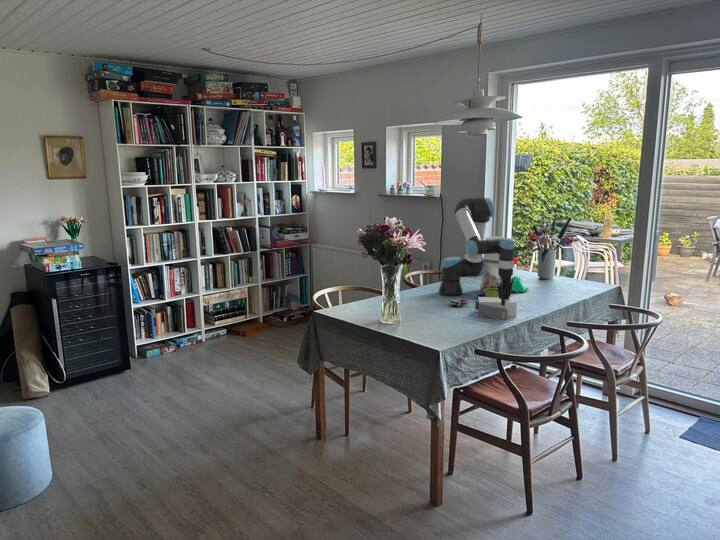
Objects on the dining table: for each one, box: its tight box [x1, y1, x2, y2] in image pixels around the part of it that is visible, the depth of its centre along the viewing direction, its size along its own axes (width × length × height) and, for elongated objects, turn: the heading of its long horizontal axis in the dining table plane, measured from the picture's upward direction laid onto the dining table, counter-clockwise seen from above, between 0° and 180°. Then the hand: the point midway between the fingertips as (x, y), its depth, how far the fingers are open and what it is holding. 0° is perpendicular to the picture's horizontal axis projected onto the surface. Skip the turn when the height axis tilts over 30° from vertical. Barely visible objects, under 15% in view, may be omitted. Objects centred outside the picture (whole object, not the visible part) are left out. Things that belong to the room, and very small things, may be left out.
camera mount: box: [511, 275, 529, 293], centre depth 352 cm, size 12×8×10 cm, turn 45°
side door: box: [478, 304, 508, 321], centre depth 292 cm, size 17×2×6 cm, turn 46°
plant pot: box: [484, 288, 499, 298], centre depth 321 cm, size 9×9×9 cm
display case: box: [479, 235, 505, 293], centre depth 348 cm, size 11×11×35 cm
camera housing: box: [474, 296, 518, 318], centre depth 302 cm, size 22×10×9 cm, turn 81°
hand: (503, 310), depth 290 cm, fingers closed
